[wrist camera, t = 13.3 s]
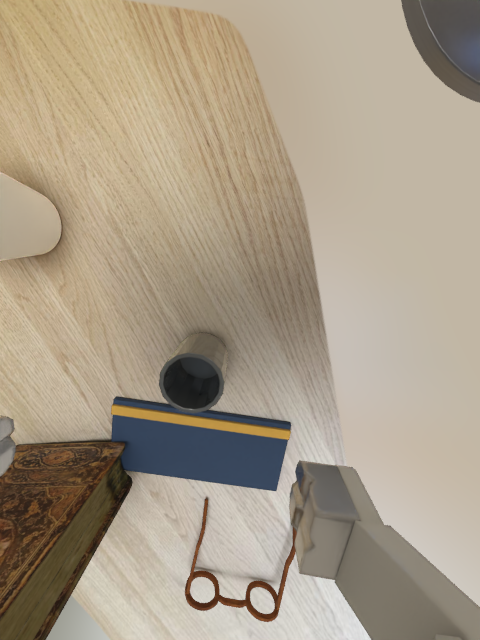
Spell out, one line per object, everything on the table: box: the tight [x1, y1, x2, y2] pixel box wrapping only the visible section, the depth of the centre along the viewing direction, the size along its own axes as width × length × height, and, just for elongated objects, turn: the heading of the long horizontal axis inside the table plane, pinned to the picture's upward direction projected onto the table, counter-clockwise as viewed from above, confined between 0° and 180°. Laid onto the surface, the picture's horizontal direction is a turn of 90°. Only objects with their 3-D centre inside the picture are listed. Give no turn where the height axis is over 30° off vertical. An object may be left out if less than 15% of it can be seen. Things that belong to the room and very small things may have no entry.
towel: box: [111, 397, 291, 491], centre depth 33 cm, size 22×10×1 cm, turn 81°
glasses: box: [185, 499, 297, 622], centre depth 34 cm, size 13×13×5 cm
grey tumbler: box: [159, 333, 228, 413], centre depth 27 cm, size 6×6×7 cm
